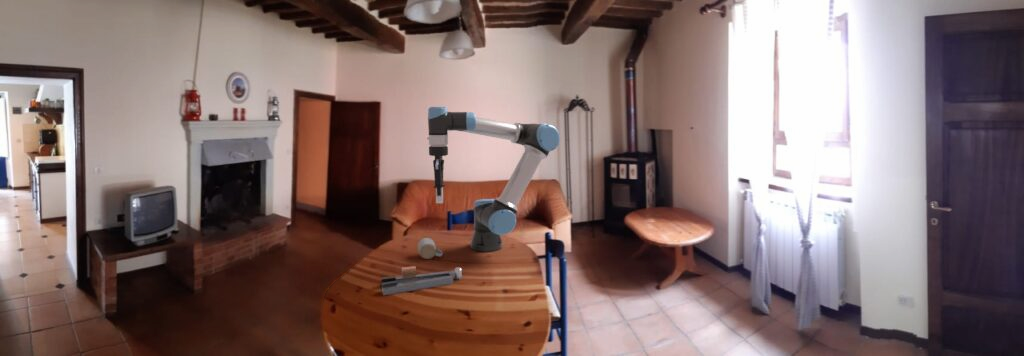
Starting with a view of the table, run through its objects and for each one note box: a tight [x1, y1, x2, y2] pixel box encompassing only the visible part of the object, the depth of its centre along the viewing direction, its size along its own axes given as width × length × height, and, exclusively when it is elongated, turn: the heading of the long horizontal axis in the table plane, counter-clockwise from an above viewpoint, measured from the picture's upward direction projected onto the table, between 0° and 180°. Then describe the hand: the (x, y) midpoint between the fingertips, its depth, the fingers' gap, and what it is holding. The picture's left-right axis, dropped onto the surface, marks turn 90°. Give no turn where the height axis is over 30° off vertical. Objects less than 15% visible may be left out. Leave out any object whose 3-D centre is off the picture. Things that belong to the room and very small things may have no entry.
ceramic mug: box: [417, 237, 444, 260], centre depth 179 cm, size 11×8×8 cm
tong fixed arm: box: [381, 275, 454, 296], centre depth 146 cm, size 25×4×3 cm, turn 115°
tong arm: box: [380, 265, 463, 288], centre depth 151 cm, size 29×6×5 cm, turn 108°
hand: (439, 202), depth 166 cm, fingers closed
